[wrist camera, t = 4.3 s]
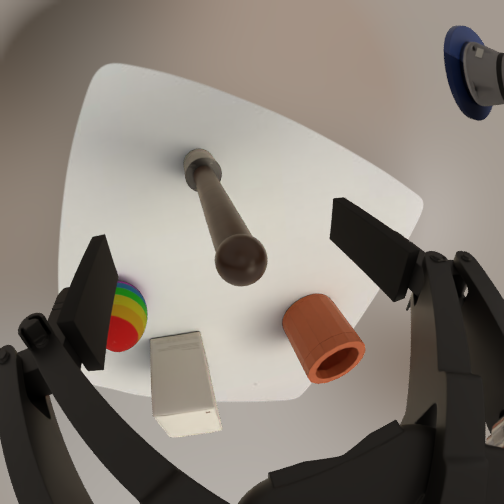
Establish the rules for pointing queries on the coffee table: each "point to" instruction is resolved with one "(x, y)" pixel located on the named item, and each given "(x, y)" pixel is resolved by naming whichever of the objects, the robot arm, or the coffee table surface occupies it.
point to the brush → (224, 223)
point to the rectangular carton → (182, 386)
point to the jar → (322, 338)
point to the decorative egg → (126, 318)
